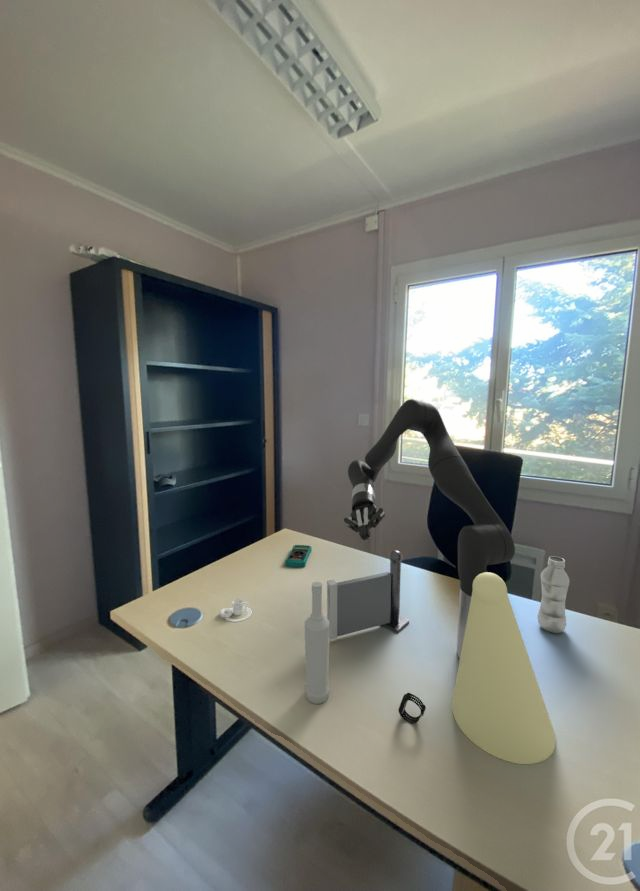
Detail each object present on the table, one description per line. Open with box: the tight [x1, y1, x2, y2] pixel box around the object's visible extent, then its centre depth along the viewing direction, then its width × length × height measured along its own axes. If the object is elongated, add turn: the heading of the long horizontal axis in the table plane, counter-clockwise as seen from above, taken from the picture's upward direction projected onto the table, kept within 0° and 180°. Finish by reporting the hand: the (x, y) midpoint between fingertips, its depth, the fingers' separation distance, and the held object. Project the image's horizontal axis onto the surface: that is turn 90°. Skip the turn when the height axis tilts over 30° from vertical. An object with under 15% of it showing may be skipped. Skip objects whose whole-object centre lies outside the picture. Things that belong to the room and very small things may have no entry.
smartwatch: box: [398, 692, 426, 725], centre depth 72 cm, size 4×5×5 cm
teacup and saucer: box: [219, 598, 253, 623], centre depth 107 cm, size 9×8×4 cm
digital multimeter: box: [284, 544, 312, 568], centre depth 144 cm, size 8×15×3 cm, turn 171°
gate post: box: [381, 549, 410, 634], centre depth 101 cm, size 6×6×21 cm
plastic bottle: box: [537, 555, 571, 634], centre depth 99 cm, size 6×7×20 cm
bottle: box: [304, 581, 330, 705], centre depth 77 cm, size 5×5×25 cm
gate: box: [326, 571, 391, 641], centre depth 98 cm, size 18×2×15 cm, turn 112°
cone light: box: [451, 571, 557, 765], centre depth 68 cm, size 25×18×35 cm
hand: (364, 537), depth 103 cm, fingers closed
